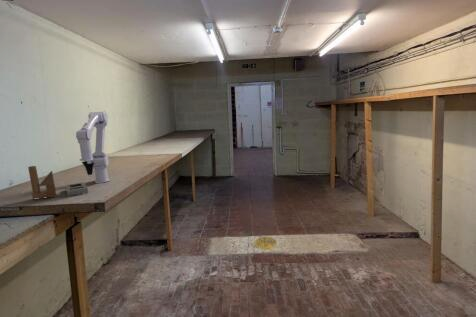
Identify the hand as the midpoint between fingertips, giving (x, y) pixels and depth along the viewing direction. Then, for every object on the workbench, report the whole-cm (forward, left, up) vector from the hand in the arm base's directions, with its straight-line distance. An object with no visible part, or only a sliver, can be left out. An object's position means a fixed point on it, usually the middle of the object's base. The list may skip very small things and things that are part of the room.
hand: (89, 173), depth 194 cm
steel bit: (0, 0, -2) cm, 2 cm away
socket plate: (0, -8, -9) cm, 12 cm away
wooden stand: (+1, -24, -9) cm, 26 cm away
